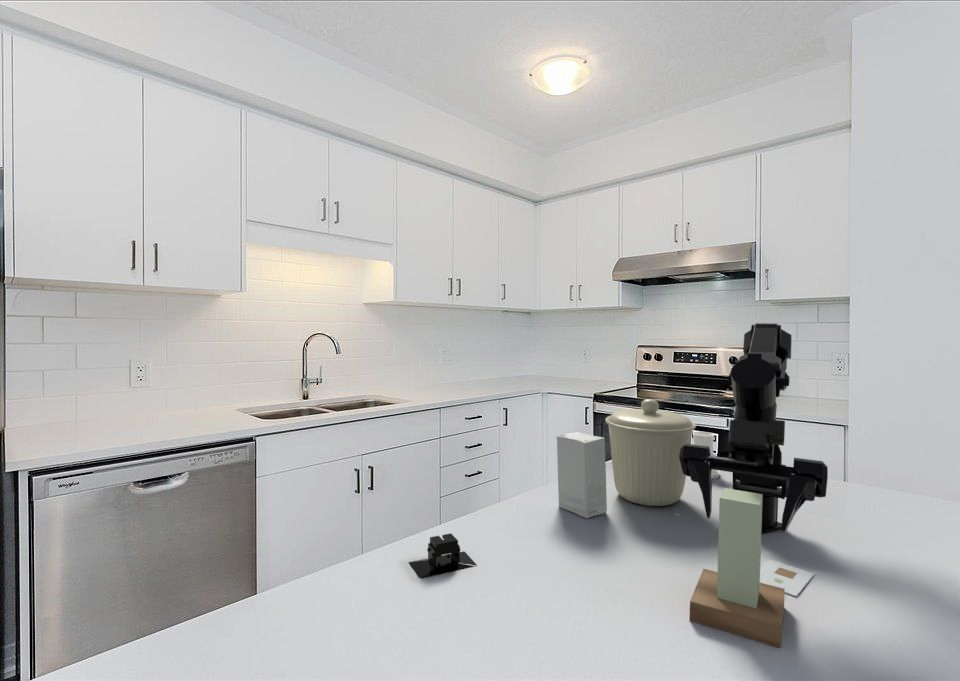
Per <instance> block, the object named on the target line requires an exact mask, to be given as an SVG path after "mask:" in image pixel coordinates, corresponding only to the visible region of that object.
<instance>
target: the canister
mask: <svg viewBox="0 0 960 681" xmlns="http://www.w3.org/2000/svg"><path fill="white" fill-rule="evenodd" d="M640 404H641V405H640V407H641V408H638V409H635V408H634V409H633V408H632V409H624V410H619V411H615V412H613V413H611V415H608V416H606V418H605V423H606V424H607V425H608V433H609V444H610V454H611V464H612V465H611V466H612V471H613V473H612V474H613V481H614V488H615V490H616V491H617V493H618V494H619V496H620V497H621V498H623V499H624V500H626V501H629V502H631V503H634V504H638V505H642V506H651V507H662V506H663V507H664V506H665V507H666V506H670V505H674V504H675V503H677V502H678V501H679V500H680V499H681V498H682V495H683V493H684V491H685V490H684V489H685V484H686V478H687V476H686V475H684V474H683V471H682V467H681V463H680V459H679V454H680V449H681V447H682V446H684V445H685V444H691V443H692V439H693V431H694V430H695V429H696V428H697V424H696V422H694V421H692V420H690V418H689V417H687V416H685V415H683V414H679V413H677V412H672V411H665V410H660V409H659V408H660V403H659V402H658V401H657V400H655V399H652V398H648V399H647V398H646V399H644V400H642V402H641V403H640Z"/></svg>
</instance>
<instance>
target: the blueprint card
mask: <svg viewBox="0 0 960 681" xmlns="http://www.w3.org/2000/svg"><path fill="white" fill-rule="evenodd" d="M814 576H815V573H814V572H810V571H807V570H805V569H801V568H797V567H795V566H791V565H789V564H785V563H783V562H779V561H775V560H773V559H769V560H768V562H766V563H765V564H764V566H762V567H760V583H763V584H767V585H771V586H775V587H779V588H784V589H785V593H784V594H786V595H789V596H792V597H794V598H797V597H798V596H799V594H800V593H801V592H802V591H803V590H804V588H805V587H806V586H807V584H808V583H809V582H810V581H811V580H812V578H813V577H814Z"/></svg>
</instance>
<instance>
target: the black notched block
mask: <svg viewBox="0 0 960 681" xmlns="http://www.w3.org/2000/svg"><path fill="white" fill-rule="evenodd" d="M426 550H427V558H424V559H419V560H413V561H409V562H408V564H409V566H410V567H411V569H412V570H413V572H414V573H415V575H416V576H417V577H418V578H421V579H420V580H422V579H427V578H430V577H435V576H439V575H444V574H449V573H453V572H458V571H462V570H465V569H469V568H475V567H478V564H477V563H476V562H475V561H474V560H473V559H472V558H471V557H470V556H469V554H467V552H466V551H461V546H460V544H459V539H457V538H456V537H455V535H453V534H452V533H445V534H442V537H441V536H440V535H435V536H429V543H427V549H426Z"/></svg>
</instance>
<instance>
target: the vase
mask: <svg viewBox="0 0 960 681" xmlns="http://www.w3.org/2000/svg"><path fill="white" fill-rule="evenodd" d="M692 439H693V441H692V443H693V445H701V446H709V448H710V453H711V456H714V439H715V434H714V433H713V432H709V431H692ZM719 477H720V470H714V469H712V471H711V480H712V479H713V480H714V479H718V478H719Z"/></svg>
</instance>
